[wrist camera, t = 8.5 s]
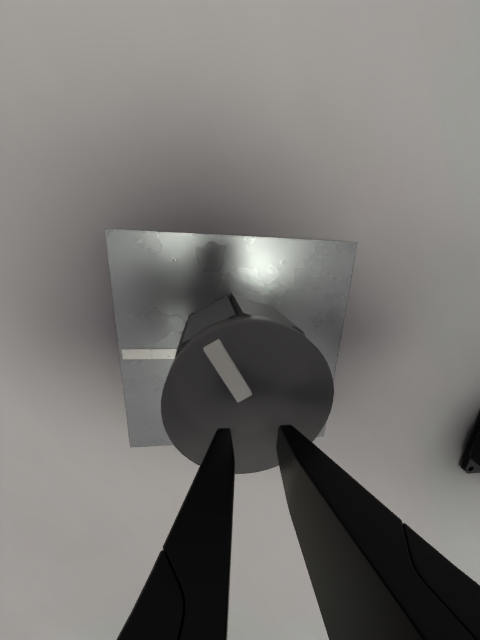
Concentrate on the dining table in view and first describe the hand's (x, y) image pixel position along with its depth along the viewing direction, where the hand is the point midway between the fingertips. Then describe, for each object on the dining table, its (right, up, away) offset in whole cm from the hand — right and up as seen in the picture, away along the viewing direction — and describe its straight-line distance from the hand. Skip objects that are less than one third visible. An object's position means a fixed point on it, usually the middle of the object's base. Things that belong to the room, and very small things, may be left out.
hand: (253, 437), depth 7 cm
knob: (-1, +2, +6) cm, 6 cm away
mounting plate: (-1, +2, +7) cm, 8 cm away
